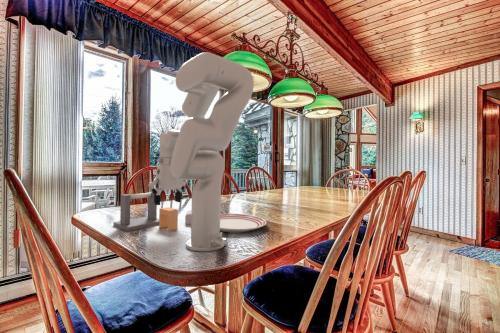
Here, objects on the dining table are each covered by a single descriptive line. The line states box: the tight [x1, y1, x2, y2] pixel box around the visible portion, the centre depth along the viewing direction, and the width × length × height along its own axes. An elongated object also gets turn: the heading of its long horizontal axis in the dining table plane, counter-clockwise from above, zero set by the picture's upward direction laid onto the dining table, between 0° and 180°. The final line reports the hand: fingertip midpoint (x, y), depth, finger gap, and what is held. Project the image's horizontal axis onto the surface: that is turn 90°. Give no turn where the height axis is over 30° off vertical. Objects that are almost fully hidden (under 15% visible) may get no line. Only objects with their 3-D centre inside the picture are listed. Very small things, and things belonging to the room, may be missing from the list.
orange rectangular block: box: [158, 207, 179, 232], centre depth 103 cm, size 7×4×8 cm, turn 52°
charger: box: [184, 209, 192, 225], centre depth 118 cm, size 5×9×15 cm
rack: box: [113, 191, 159, 232], centre depth 108 cm, size 12×16×14 cm
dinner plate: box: [220, 213, 267, 233], centre depth 109 cm, size 27×27×3 cm
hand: (167, 203), depth 104 cm, fingers open, 9 cm apart
